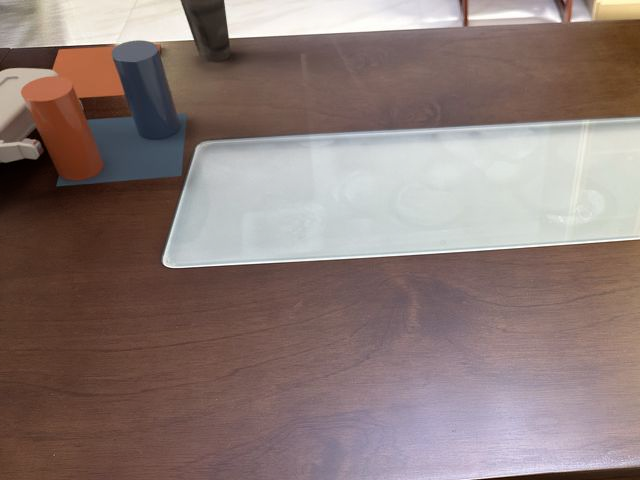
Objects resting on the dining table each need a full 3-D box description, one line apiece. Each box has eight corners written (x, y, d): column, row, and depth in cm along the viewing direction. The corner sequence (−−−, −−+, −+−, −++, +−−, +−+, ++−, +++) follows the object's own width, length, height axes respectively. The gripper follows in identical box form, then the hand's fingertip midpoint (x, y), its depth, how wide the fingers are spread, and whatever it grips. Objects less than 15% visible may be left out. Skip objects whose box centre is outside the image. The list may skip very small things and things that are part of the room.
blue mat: (57, 190, 90) (55, 186, 90) (75, 124, 100) (73, 120, 99) (182, 179, 92) (181, 175, 92) (188, 116, 102) (186, 112, 102)
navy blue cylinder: (135, 141, 97) (108, 63, 88) (139, 118, 100) (113, 41, 92) (179, 138, 97) (156, 60, 89) (181, 115, 101) (159, 38, 93)
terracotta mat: (43, 103, 103) (42, 100, 102) (60, 52, 112) (58, 49, 112) (154, 96, 105) (153, 93, 105) (161, 47, 115) (160, 43, 114)
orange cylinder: (54, 182, 90) (16, 102, 82) (61, 157, 94) (25, 77, 85) (101, 179, 91) (68, 99, 83) (106, 153, 94) (75, 74, 86)
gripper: (12, 94, 98) (109, 107, 97) (-87, 184, 84) (25, 199, 83) (-10, 49, 93) (92, 62, 92) (-118, 136, 80) (0, 152, 79)
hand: (59, 128), depth 88 cm, fingers open, 8 cm apart
